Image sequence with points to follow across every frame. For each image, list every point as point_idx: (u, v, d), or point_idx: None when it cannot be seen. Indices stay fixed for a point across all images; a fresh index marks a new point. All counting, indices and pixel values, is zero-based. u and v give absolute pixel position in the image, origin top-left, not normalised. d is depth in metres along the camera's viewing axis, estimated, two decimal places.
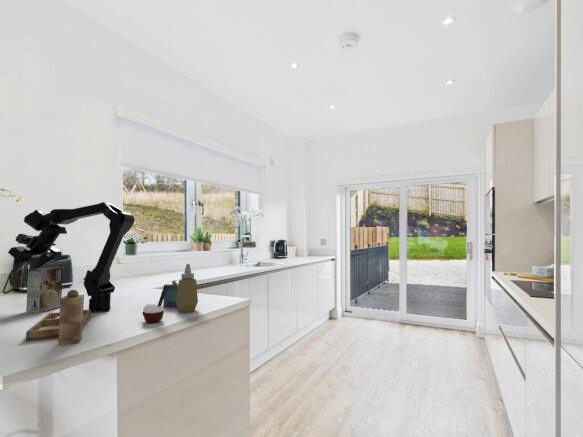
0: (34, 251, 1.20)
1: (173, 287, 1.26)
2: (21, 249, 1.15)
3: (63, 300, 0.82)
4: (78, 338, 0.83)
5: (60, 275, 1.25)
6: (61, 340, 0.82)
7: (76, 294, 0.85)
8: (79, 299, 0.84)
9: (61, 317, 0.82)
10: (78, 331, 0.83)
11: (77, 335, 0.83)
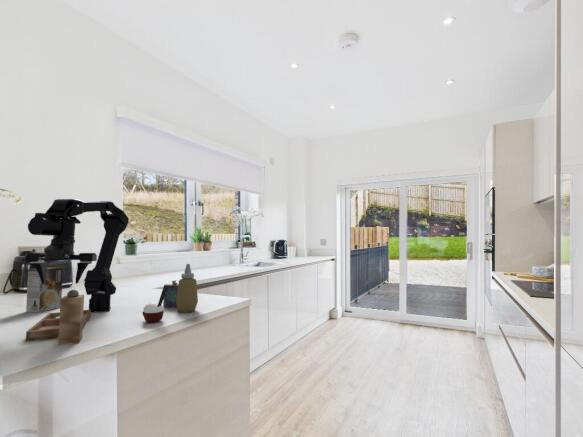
0: (73, 254, 1.05)
1: (173, 287, 1.26)
2: None
3: (63, 300, 0.82)
4: (78, 338, 0.83)
5: (60, 275, 1.25)
6: (61, 340, 0.82)
7: (76, 294, 0.85)
8: (79, 299, 0.84)
9: (61, 317, 0.82)
10: (78, 331, 0.83)
11: (78, 335, 0.83)
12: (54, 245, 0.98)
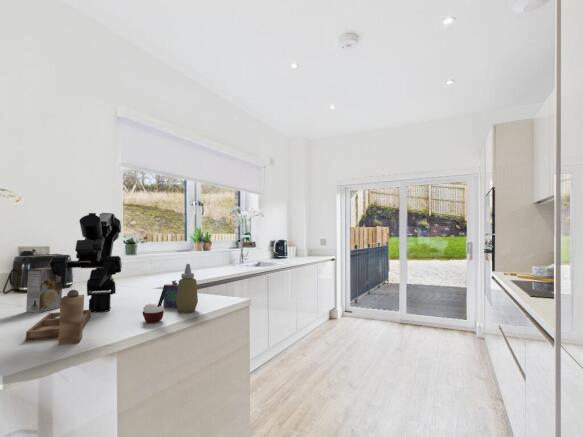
0: None
1: (173, 287, 1.26)
2: None
3: (63, 300, 0.82)
4: (78, 338, 0.83)
5: None
6: (61, 340, 0.82)
7: (76, 294, 0.85)
8: (79, 299, 0.84)
9: (61, 317, 0.82)
10: (78, 331, 0.83)
11: (78, 335, 0.83)
12: None
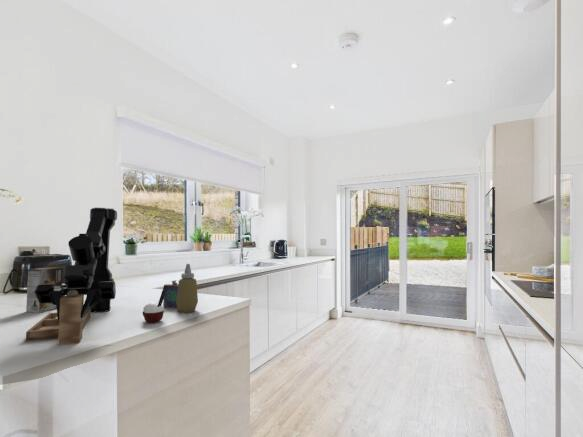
0: (90, 289, 0.92)
1: (173, 287, 1.26)
2: None
3: (63, 300, 0.82)
4: (78, 338, 0.83)
5: (60, 275, 1.25)
6: (61, 340, 0.82)
7: (76, 294, 0.85)
8: (79, 299, 0.84)
9: (61, 317, 0.82)
10: (78, 331, 0.83)
11: (77, 335, 0.83)
12: None
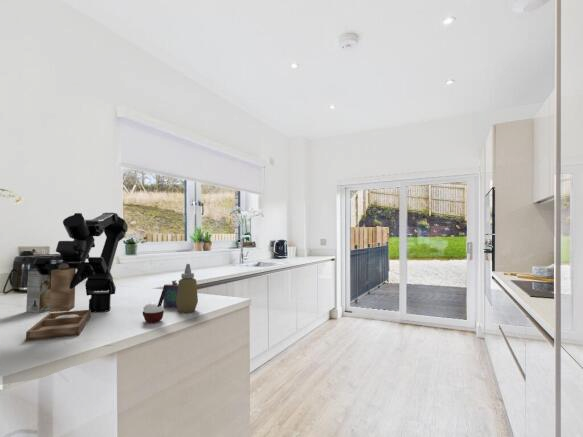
0: None
1: (173, 287, 1.26)
2: None
3: (53, 271, 0.90)
4: (67, 307, 0.91)
5: None
6: (52, 308, 0.90)
7: (66, 267, 0.93)
8: (68, 271, 0.91)
9: (52, 287, 0.90)
10: (67, 300, 0.91)
11: (67, 304, 0.91)
12: None
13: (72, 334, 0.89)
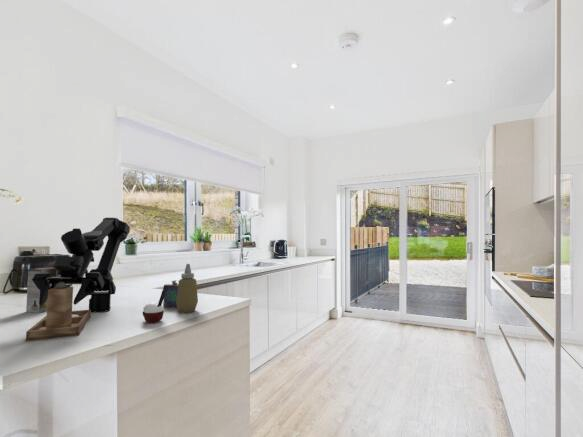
0: None
1: (173, 287, 1.26)
2: None
3: (50, 291, 0.91)
4: (63, 326, 0.91)
5: (60, 275, 1.25)
6: (48, 327, 0.91)
7: (63, 286, 0.93)
8: (64, 291, 0.92)
9: (48, 306, 0.91)
10: (63, 320, 0.91)
11: (62, 324, 0.91)
12: None
13: (72, 334, 0.89)
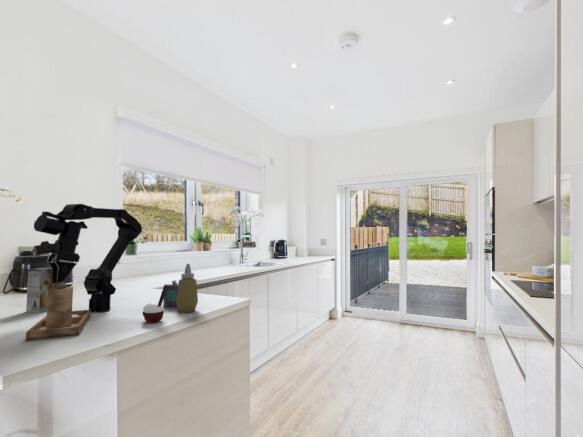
0: None
1: (173, 287, 1.26)
2: (67, 252, 1.02)
3: (50, 291, 0.91)
4: (63, 326, 0.91)
5: None
6: (48, 327, 0.91)
7: (63, 286, 0.93)
8: (64, 291, 0.92)
9: (48, 306, 0.91)
10: (63, 320, 0.91)
11: (62, 324, 0.91)
12: None
13: (72, 334, 0.89)
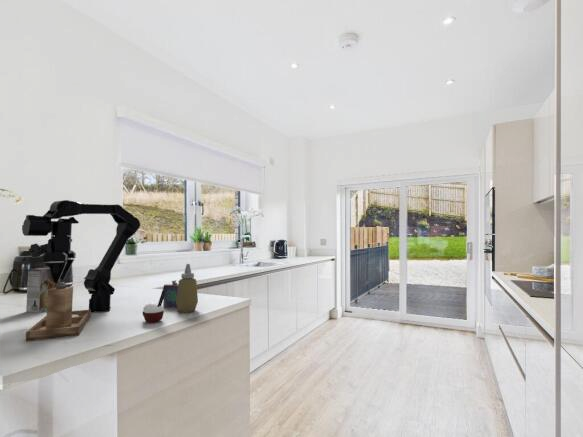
0: (61, 253, 1.07)
1: (173, 287, 1.26)
2: (53, 252, 1.02)
3: (50, 291, 0.91)
4: (63, 326, 0.91)
5: None
6: (48, 327, 0.91)
7: (63, 286, 0.93)
8: (64, 291, 0.92)
9: (48, 306, 0.91)
10: (63, 320, 0.91)
11: (62, 324, 0.91)
12: None
13: (72, 334, 0.89)
